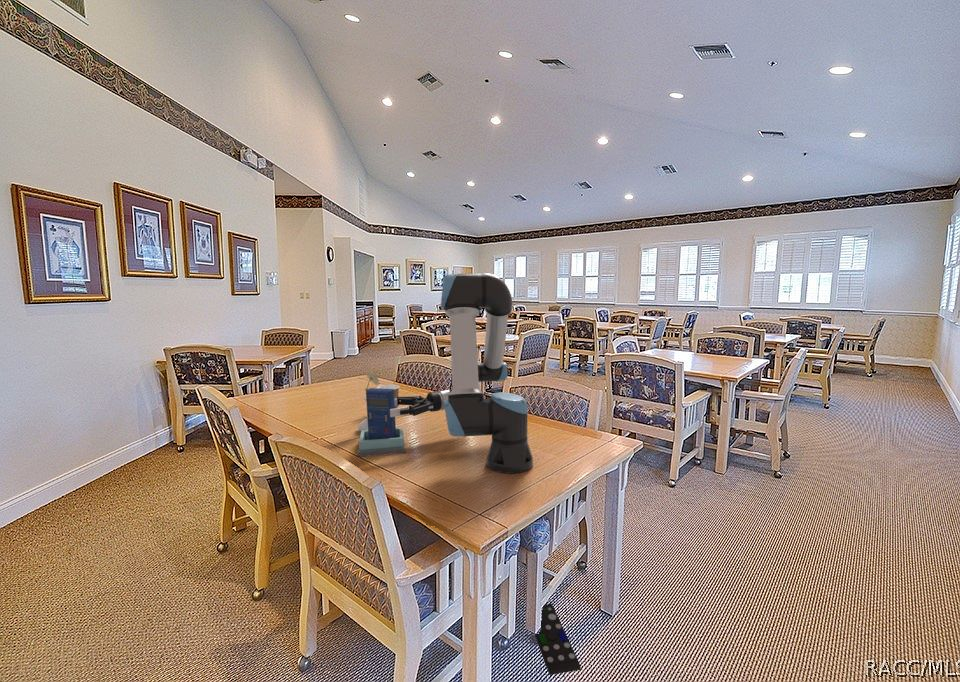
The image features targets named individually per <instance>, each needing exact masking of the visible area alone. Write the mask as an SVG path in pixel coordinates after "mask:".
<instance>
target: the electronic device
mask: <svg viewBox="0 0 960 682" xmlns="http://www.w3.org/2000/svg"><path fill="white" fill-rule="evenodd" d="M365 397H366V400H365V402H366V401H367V402H366V412H367V413H366V415H367V417H366V418H367V419H368V436H369V440H375V439H387V438H396V428H397V427H396V417H390V409H395V403H394V389H381V388H377V387H376V388H375V387H369V388H368V390H366V391H365Z"/></svg>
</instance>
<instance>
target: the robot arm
mask: <svg viewBox="0 0 960 682" xmlns="http://www.w3.org/2000/svg"><path fill="white" fill-rule="evenodd" d="M508 287H509V286H507V284H506V283H505V281H504V280H502V278H500V277H499V276H498V275H496V274H493V273H488V272H483V273H478V272H477V273H459V272H457V273H449V274H445V275H444V276H443V281H442V288H441V298H440V299H441V300H440V309H443V310H444V313H445V315H446V316H447V317H449V324H450V325H449V326H450V328H449V329H450V350H451V351H450V352H451V372H450V373H451V389H444V390H438V391H431V392H430V391H429V392H428V393H427V395H426V397H424V396H422V395H416V396H414V395H412V396H410V395H409V396H398V397H397V398H396V399H394V403H395V406H397V408H396V409H390V417H395V418H396V417H403V416H407V415H408V416H409V415H410V416H413V417H415V416H418V415H422V414H424V413H427V412H431V413H433V412H440V411H445V419H446V425H447V429H448V433H449V435H450V436H451V437H457V438H458V437H463V438H465V437H478V436H491V443H490V446H489V449H488V452H487V455H486V466H487V467H488V468H489V469H490V470H492V471H494V472H498V473H503V474H517V473H523V472H526V471H528V470H530V469H532V467H533V465H534V457H533V455H532V451H531V448H530V445H529V442H528V414H529V411H528V402H527V400H526V398H524V397H523V396H521V395H518V394H515V393H511V392H502V391H499V392H493V393H491V395H490V398H485V393H484V391H482V390H481V388H480V383H481V382H483V383H484V382H487V383H488V382H504V381H506V380H507V379H508V365H507V363H506V362H505V361H504V356H505V349H506V348H505V347H506V346H505V345H506V338H507V337H506V336H507V329H508V321H509V315H510V314H511V313H512V309H513V298H512V294H511V292H510V288H508ZM481 308H484V312H485V313H486V323H485V324H486V326H485V327H486V328H485V340H484V353H483V355H484V356H483V362H478V344H477V324H476V323H477V321H476V317H477V316H478V315H479V314H480V313H481V311H480V309H481ZM399 406H403V407H399Z"/></svg>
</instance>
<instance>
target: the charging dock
mask: <svg viewBox="0 0 960 682" xmlns="http://www.w3.org/2000/svg"><path fill="white" fill-rule="evenodd" d="M403 429H404V428H403V427H396V438H387V439H375V440H369V436H368V430H364V431H360V436H359V440H358V444H359V445H358V446H359V447H358V453H357V454H358V457H359V458H361V457H370V456H380V455H382V456H383V455H393V454H402V453H403V454H404V453H405V452H406V447H405V436H404V430H403Z"/></svg>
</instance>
